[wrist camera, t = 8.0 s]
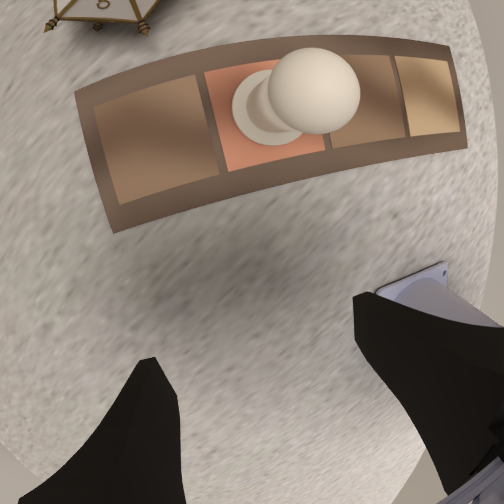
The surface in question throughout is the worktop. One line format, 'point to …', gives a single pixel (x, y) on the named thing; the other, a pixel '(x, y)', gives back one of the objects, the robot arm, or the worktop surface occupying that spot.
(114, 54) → the worktop surface
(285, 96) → the pawn
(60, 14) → the game die
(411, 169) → the worktop surface
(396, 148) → the board
